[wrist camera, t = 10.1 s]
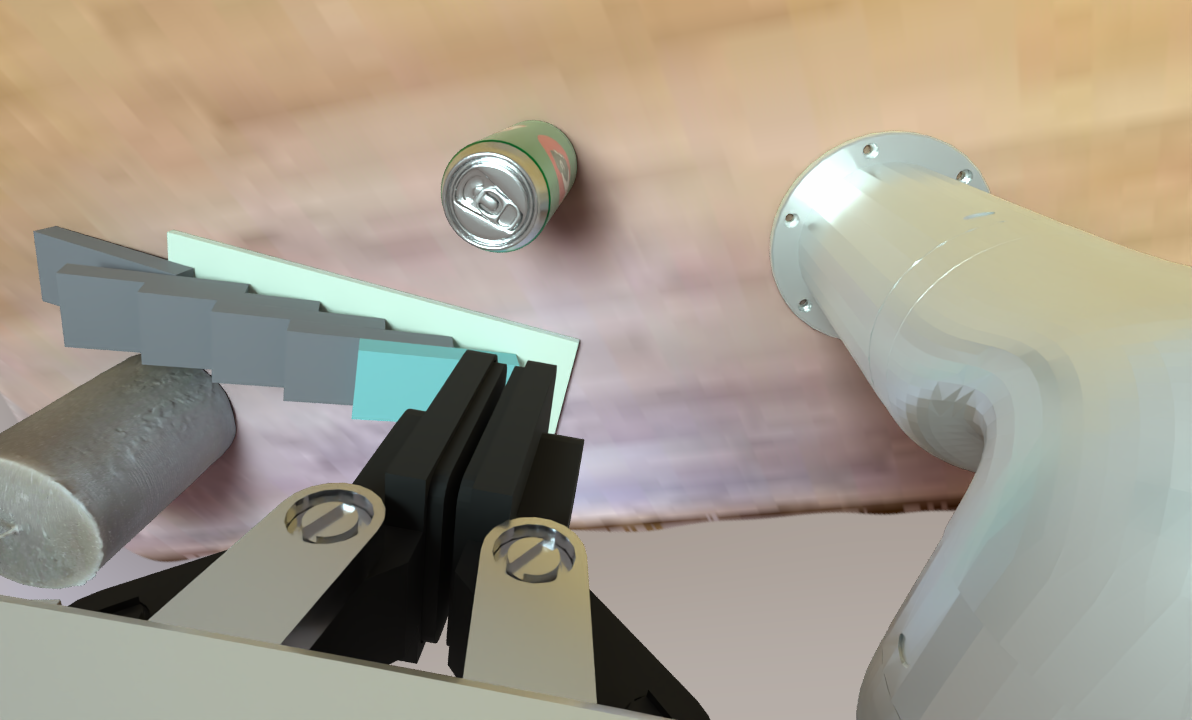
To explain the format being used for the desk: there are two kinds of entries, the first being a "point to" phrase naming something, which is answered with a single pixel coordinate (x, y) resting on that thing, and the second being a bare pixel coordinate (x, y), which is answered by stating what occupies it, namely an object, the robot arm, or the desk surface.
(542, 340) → the mat
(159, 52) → the desk surface
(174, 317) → the tile
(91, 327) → the tile
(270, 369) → the tile
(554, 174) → the soda can
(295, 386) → the tile
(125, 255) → the tile
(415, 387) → the tile
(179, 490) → the pillar candle
